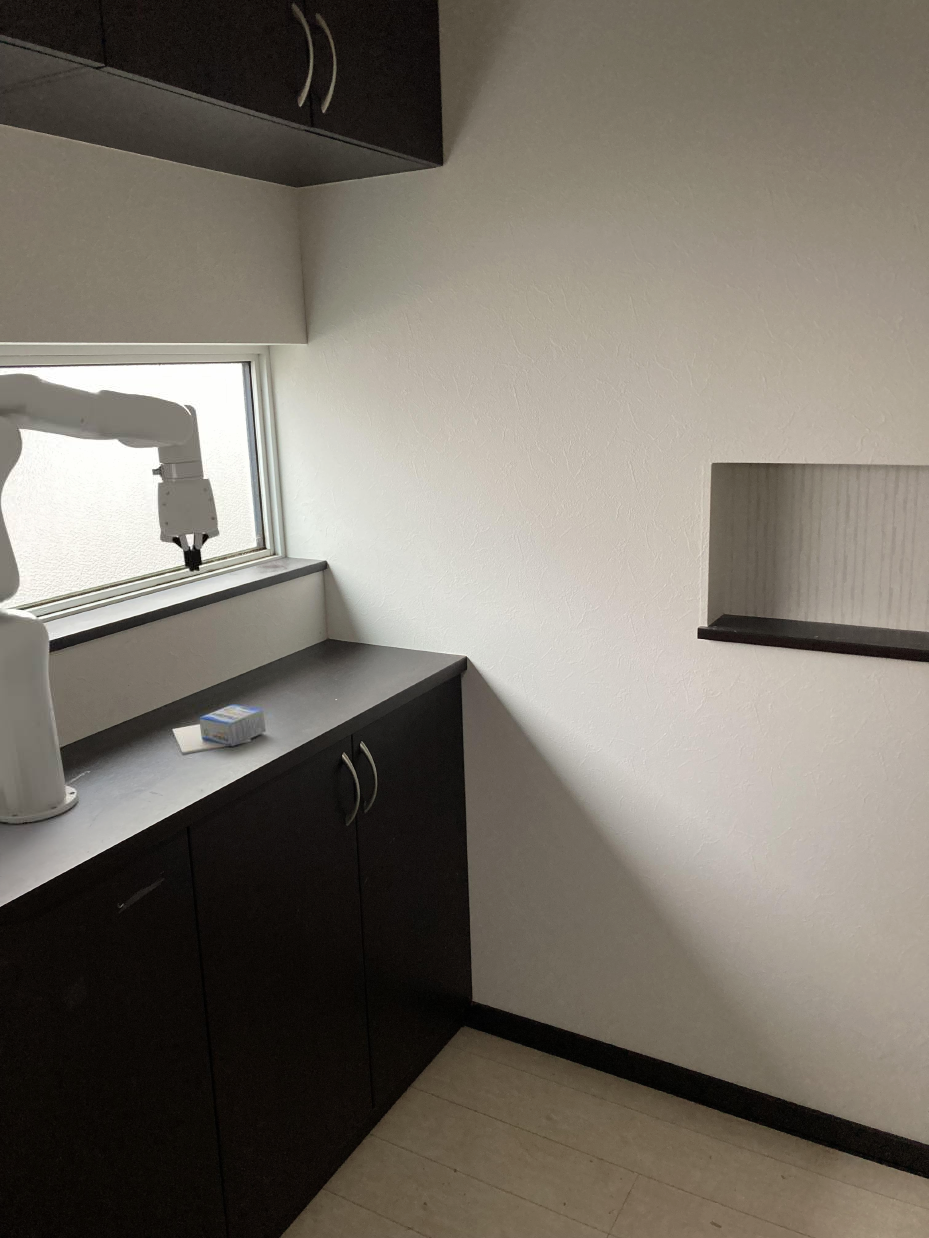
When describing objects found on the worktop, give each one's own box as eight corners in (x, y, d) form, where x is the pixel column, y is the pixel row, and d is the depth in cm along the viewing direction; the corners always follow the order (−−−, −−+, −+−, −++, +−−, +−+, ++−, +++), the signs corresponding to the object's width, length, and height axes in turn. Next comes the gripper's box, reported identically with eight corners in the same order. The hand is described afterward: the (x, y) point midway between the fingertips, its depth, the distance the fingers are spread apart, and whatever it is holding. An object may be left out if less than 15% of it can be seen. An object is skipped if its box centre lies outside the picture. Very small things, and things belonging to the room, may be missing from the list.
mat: (182, 754, 179) (182, 752, 179) (172, 731, 191) (172, 729, 191) (251, 741, 183) (250, 739, 183) (236, 719, 196) (236, 717, 196)
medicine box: (264, 708, 185) (229, 722, 178) (266, 732, 186) (231, 747, 179) (233, 703, 190) (198, 717, 183) (236, 726, 191) (200, 740, 184)
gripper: (141, 477, 181) (155, 578, 185) (226, 469, 186) (237, 568, 190) (137, 474, 188) (150, 572, 192) (219, 467, 193) (230, 562, 197)
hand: (194, 570), depth 191 cm, fingers closed
